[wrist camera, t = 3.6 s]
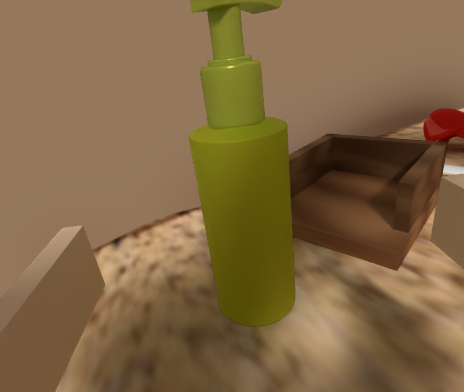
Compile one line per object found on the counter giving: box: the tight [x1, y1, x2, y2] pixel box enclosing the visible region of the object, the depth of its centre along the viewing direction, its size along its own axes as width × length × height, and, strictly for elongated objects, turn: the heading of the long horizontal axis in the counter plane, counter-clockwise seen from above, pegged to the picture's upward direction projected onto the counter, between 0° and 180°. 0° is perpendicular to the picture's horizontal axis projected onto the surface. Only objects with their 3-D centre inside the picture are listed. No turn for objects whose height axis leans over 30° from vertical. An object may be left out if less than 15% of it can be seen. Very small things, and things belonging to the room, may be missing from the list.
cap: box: [424, 109, 464, 142], centre depth 46 cm, size 8×6×6 cm
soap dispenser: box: [189, 0, 295, 326], centre depth 20 cm, size 6×7×20 cm
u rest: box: [289, 134, 449, 270], centre depth 34 cm, size 18×14×6 cm
